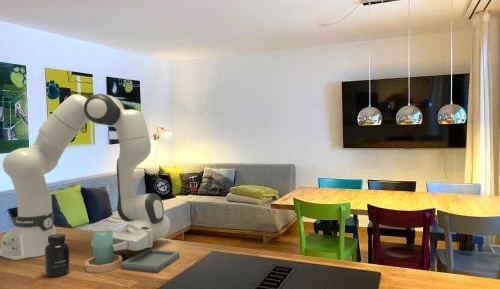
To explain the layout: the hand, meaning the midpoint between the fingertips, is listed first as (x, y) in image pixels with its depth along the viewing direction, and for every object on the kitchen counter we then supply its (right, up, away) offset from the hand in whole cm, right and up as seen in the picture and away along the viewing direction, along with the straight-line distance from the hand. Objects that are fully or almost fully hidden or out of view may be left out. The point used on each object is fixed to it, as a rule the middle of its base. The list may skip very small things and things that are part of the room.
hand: (102, 246), depth 121 cm
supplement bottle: (-12, -7, -5) cm, 15 cm away
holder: (0, -6, 0) cm, 7 cm away
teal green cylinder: (0, -6, 0) cm, 7 cm away
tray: (+15, -6, +2) cm, 17 cm away
